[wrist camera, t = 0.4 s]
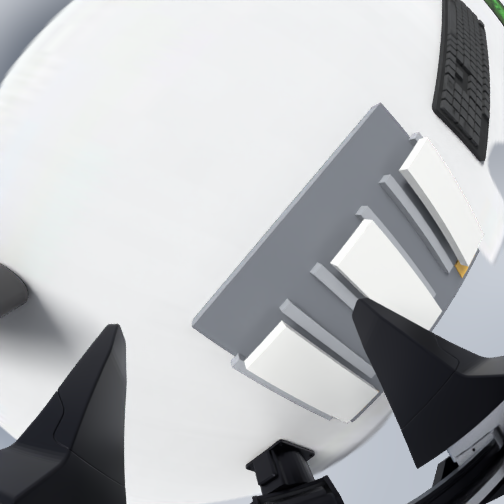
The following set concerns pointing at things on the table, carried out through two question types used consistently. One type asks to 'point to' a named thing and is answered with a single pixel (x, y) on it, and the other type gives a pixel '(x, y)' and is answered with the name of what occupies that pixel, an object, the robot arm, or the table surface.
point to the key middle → (385, 275)
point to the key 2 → (443, 199)
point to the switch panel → (332, 255)
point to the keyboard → (463, 77)
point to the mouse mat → (496, 9)
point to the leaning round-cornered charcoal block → (11, 291)
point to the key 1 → (309, 374)
